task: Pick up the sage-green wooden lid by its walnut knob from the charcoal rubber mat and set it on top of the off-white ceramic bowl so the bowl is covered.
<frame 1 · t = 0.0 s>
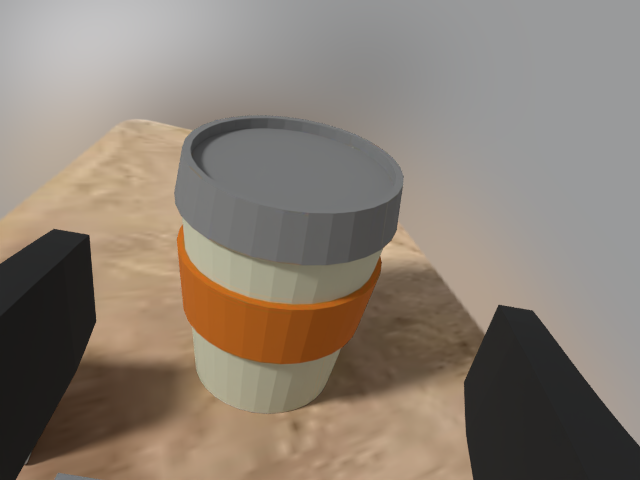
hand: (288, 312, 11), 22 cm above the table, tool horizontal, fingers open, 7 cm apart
reusable coffee cup: (262, 364, 41), on the table
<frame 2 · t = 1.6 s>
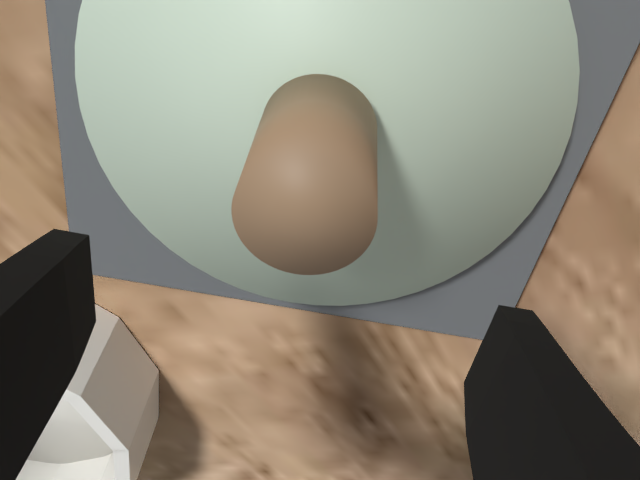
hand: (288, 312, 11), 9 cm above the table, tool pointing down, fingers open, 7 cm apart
mat: (324, 101, 19), on the table
lid: (322, 109, 18), point 1 cm above the table, touching mat
bowl: (23, 372, 27), on the table
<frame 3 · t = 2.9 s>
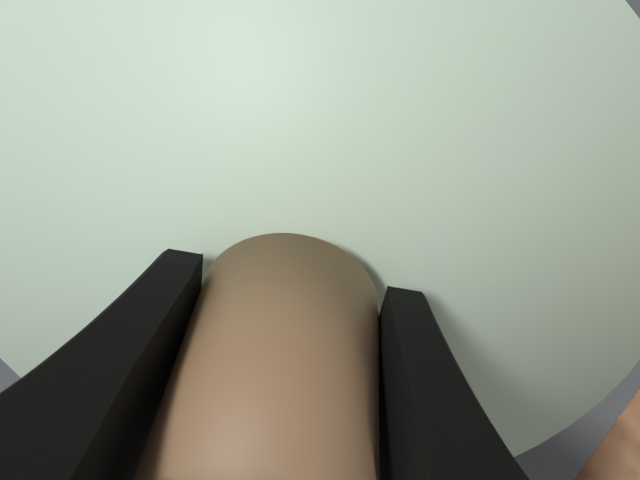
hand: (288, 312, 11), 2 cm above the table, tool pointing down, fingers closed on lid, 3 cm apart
mat: (301, 240, 13), on the table
lid: (297, 258, 12), point 1 cm above the table, touching gripper, mat
when the fingers open (7 cm above the table, at t = 6.1 s): lid drops 1 cm, resting on bowl.
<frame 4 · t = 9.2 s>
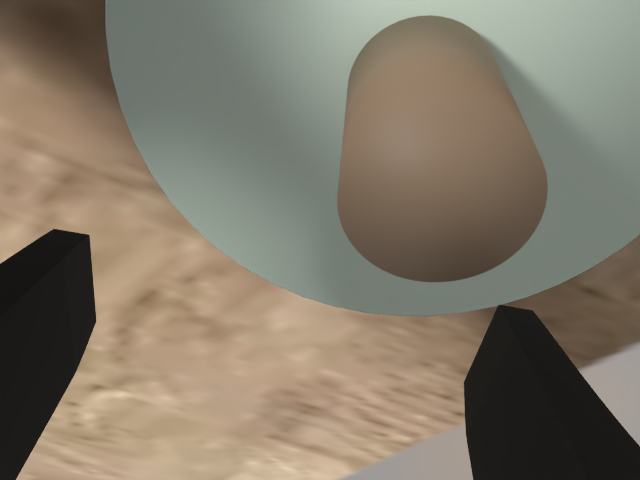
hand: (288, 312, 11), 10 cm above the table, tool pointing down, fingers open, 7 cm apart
lid: (418, 68, 14), point 4 cm above the table, touching bowl
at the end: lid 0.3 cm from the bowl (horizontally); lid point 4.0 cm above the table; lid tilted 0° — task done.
